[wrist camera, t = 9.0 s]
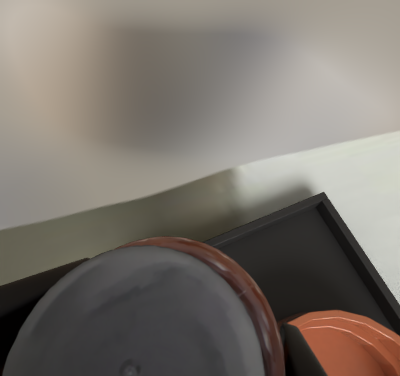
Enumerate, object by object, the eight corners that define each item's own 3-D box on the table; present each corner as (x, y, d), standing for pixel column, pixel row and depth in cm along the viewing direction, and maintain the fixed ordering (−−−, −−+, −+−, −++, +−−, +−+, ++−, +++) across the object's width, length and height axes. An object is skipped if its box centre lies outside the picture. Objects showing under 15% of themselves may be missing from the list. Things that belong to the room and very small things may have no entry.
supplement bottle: (101, 339, 14) (-151, 363, 4) (187, 256, 16) (152, 134, 6) (181, 451, 12) (61, 985, 2) (269, 342, 14) (423, 376, 4)
